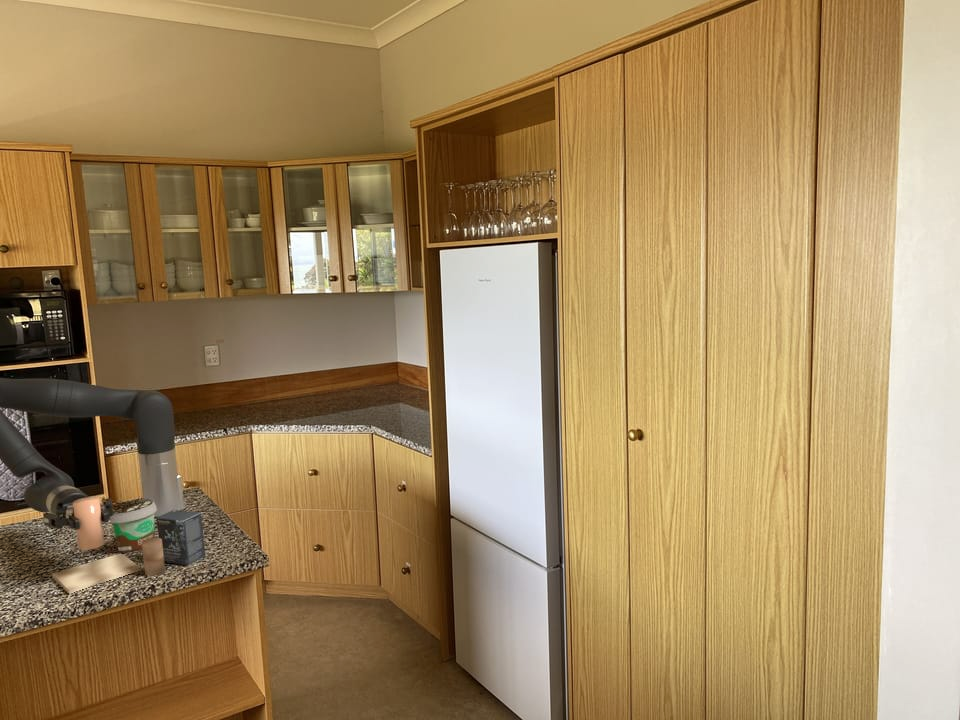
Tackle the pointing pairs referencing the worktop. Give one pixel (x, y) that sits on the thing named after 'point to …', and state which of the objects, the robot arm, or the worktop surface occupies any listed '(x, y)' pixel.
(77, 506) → the salmon orange cylinder
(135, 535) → the food container
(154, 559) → the walnut cylinder
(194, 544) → the box
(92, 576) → the birch board
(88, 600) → the worktop surface
